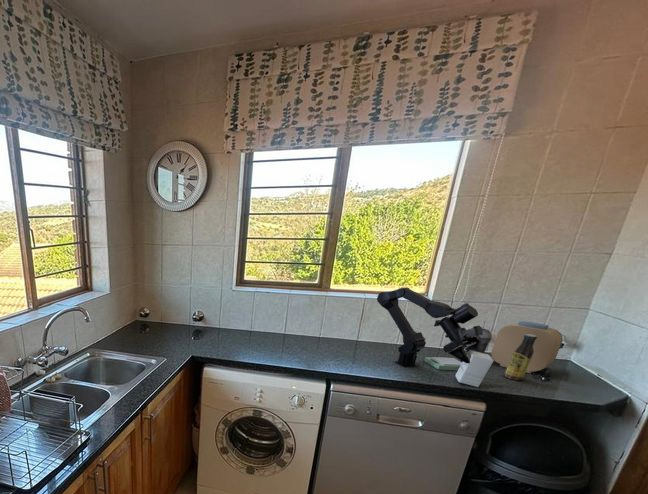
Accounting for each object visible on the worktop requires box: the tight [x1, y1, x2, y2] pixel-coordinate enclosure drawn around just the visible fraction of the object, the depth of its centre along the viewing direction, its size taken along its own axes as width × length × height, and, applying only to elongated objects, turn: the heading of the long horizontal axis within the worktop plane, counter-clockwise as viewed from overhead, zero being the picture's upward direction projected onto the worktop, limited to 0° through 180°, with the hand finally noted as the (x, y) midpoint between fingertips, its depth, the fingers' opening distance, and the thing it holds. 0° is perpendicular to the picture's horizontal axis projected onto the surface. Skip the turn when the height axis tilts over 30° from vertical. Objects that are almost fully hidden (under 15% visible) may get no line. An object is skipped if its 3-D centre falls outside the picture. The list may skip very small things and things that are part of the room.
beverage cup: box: [479, 319, 493, 354], centre depth 196 cm, size 7×7×20 cm
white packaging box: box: [454, 350, 495, 388], centre depth 168 cm, size 7×7×13 cm
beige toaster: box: [490, 320, 563, 374], centre depth 185 cm, size 21×10×22 cm, turn 32°
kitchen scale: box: [424, 356, 463, 371], centre depth 191 cm, size 13×12×2 cm
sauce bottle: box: [504, 334, 537, 381], centre depth 173 cm, size 7×6×20 cm
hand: (474, 361), depth 167 cm, fingers open, 9 cm apart
